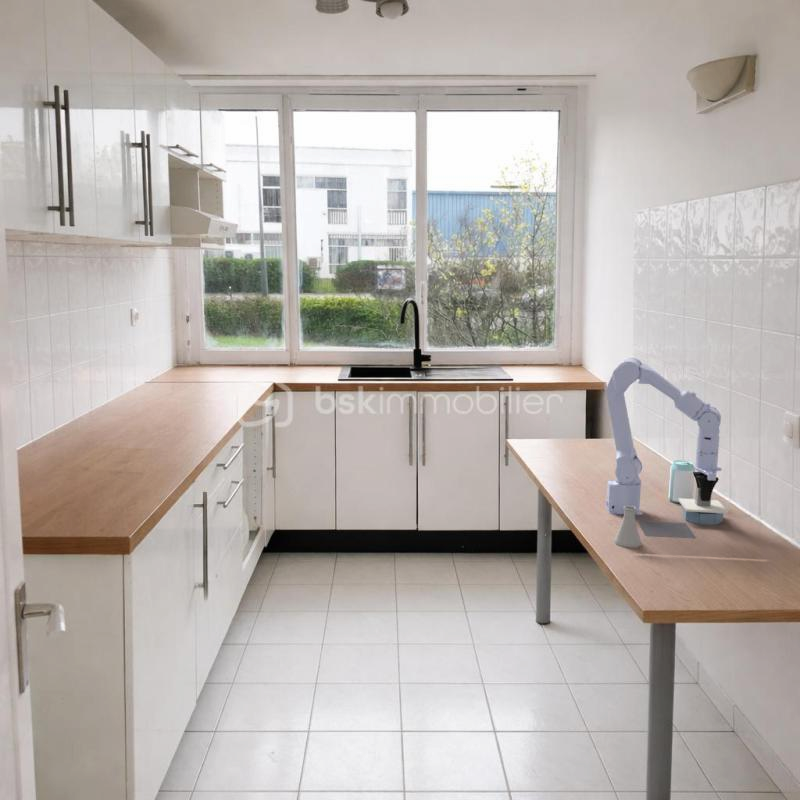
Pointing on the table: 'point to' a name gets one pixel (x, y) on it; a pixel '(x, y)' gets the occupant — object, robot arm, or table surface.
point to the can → (681, 480)
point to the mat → (666, 529)
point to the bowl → (703, 517)
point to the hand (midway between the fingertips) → (703, 499)
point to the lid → (702, 505)
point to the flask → (628, 530)
